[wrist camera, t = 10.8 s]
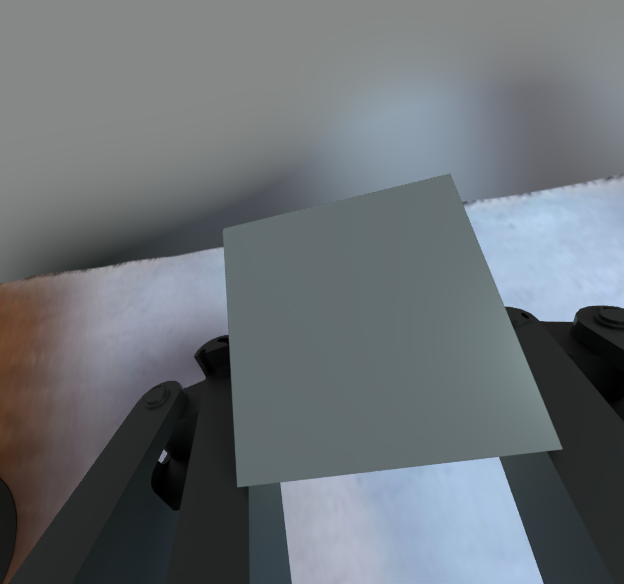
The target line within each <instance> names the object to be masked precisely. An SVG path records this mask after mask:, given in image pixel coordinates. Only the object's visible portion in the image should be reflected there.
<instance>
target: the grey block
mask: <svg viewBox="0 0 624 584" xmlns="http://www.w3.org/2000/svg"><path fill="white" fill-rule="evenodd" d="M223 238H224V257H225V275H226V293H227V311H228V329H229V347H230V365H231V383H232V401H233V419H234V437H235V455H236V473H237V487H244V486H253V485H261V484H270V483H278V482H287V481H296V480H304V479H313V478H321V477H330V476H338V475H347V474H355V473H364V472H373V471H381V470H390V469H398V468H407V467H415V466H424V465H432V464H441V463H450V462H458V461H467V460H475V459H484V458H492V457H501V456H509V455H518V454H526V453H535V452H544V451H552V450H561V449H562V446H561V444H560V441H559V439H558V436H557V434H556V431H555V429H554V427H553V424H552V422H551V419H550V417H549V414H548V412H547V409H546V407H545V404H544V402H543V400H542V397H541V395H540V392H539V390H538V387H537V385H536V382H535V380H534V378H533V375H532V373H531V370H530V368H529V365H528V363H527V360H526V358H525V355H524V353H523V351H522V348H521V346H520V343H519V341H518V338H517V336H516V333H515V331H514V329H513V326H512V324H511V321H510V319H509V316H508V314H507V311H506V309H505V306H504V304H503V302H502V299H501V297H500V294H499V292H498V289H497V287H496V284H495V282H494V280H493V277H492V275H491V272H490V270H489V267H488V265H487V262H486V260H485V257H484V255H483V253H482V250H481V248H480V245H479V243H478V240H477V238H476V235H475V233H474V231H473V228H472V226H471V223H470V221H469V218H468V216H467V213H466V211H465V208H464V206H463V204H462V201H461V199H460V196H459V194H458V191H457V189H456V186H455V184H454V182H453V179H452V177H451V174H447V175H442V176H438V177H435V178H430V179H426V180H422V181H418V182H414V183H410V184H406V185H402V186H398V187H393V188H389V189H385V190H381V191H377V192H373V193H368V194H364V195H361V196H357V197H352V198H348V199H344V200H340V201H336V202H332V203H327V204H323V205H319V206H315V207H311V208H307V209H303V210H299V211H295V212H291V213H287V214H282V215H278V216H274V217H270V218H266V219H262V220H258V221H253V222H249V223H246V224H241V225H237V226H233V227H229V228H225V229H223Z"/></svg>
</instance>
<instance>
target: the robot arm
mask: <svg viewBox="0 0 624 584" xmlns="http://www.w3.org/2000/svg"><path fill="white" fill-rule="evenodd" d="M505 309H506V311H507V314H508V316H509V319H510V321H511V324H512V326H513V329H514V331H515V333H516V336H517V338H518V341H519V343H520V346H521V348H522V351H523V353H524V355H525V358H526V360H527V363H528V365H529V368H530V370H531V373H532V375H533V378H534V380H535V382H536V385H537V387H538V390H539V392H540V395H541V397H542V400H543V402H544V404H545V407H546V409H547V412H548V414H549V417H550V419H551V422H552V424H553V427H554V429H555V431H556V434H557V436H558V439H559V441H560V444H561V446H562V449H561V450H552V451H544V452H535V453H526V454H518V455H509V456H501V457H499V458H500V461H501V463H502V466H503V469H504V472H505V475H506V478H507V480H508V483H509V486H510V489H511V492H512V495H513V497H514V500H515V503H516V506H517V509H518V512H519V515H520V517H521V520H522V523H523V526H524V529H525V532H526V534H527V537H528V540H529V543H530V546H531V549H532V551H533V554H534V557H535V560H536V563H537V566H538V569H539V571H540V574H541V577H542V580H543V583H544V584H624V309H623V308H620V307H615V306H588V307H585V308H582V309H580V310H579V311H578V312H577V313H576V315H575V318H574V321H573V322H544V321H539V320H538V319H537V318H536V317H535V316H533V315H532V314H531V313H529V312H526V311H524V310H521V309H517V308H513V307H505ZM194 357H195V359H196V361H197V362H198V364H199V366H200V367H201V369H202V371H203V372H204V374H205V376H206V379H205V380H204V381H202V382H199V383H197V384H194V385H192V386H190V387H187V388H185V389H183V388H182V386H181V385H180V383H178V382H177V381H167V382H164V383H161V384H159V385H157V386H155V387H153V388H152V389H151V390H149V391H148V392H147V393H146V394H144V395H143V397H142V398H141V399H140V400H139V401H138V402H137V404H136V405H135V407H134V408H133V409H132V411H131V412H130V414H129V415H128V416H127V418H126V419H125V421H124V422H123V423H122V425H121V426H120V428H119V429H118V430H117V432H116V433H115V435H114V436H113V437H112V439H111V440H110V442H109V443H108V444H107V446H106V447H105V449H104V450H103V451H102V453H101V454H100V456H99V457H98V458H97V460H96V461H95V463H94V464H93V465H92V467H91V468H90V470H89V471H88V472H87V474H86V475H85V477H84V478H83V479H82V481H81V482H80V484H79V485H78V486H77V488H76V489H75V491H74V492H73V493H72V495H71V496H70V498H69V499H68V500H67V502H66V503H65V505H64V506H63V507H62V509H61V510H60V512H59V513H58V514H57V516H56V517H55V519H54V520H53V521H52V523H51V524H50V526H49V527H48V528H47V530H46V531H45V533H44V534H43V535H42V537H41V538H40V540H39V541H38V542H37V544H36V545H35V547H34V548H33V549H32V551H31V552H30V554H29V555H28V556H27V558H26V559H25V561H24V562H23V563H22V565H21V566H20V568H19V569H18V570H17V572H16V573H15V575H14V576H13V577H12V579H11V580H10V582H9V583H8V584H292V582H291V573H290V565H289V556H288V547H287V539H286V530H285V521H284V513H283V504H282V495H281V487H280V482H278V483H270V484H261V485H253V486H244V487H237V473H236V455H235V437H234V419H233V401H232V383H231V365H230V347H229V335H224V336H220V337H217V338H215V339H212V340H210V341H209V342H207V343H206V344H204V345H203V346H202V347H201V348H200V349H199V350H198V351H197V353H196V354H195V356H194ZM163 450H165V451H166V452H167V455H166V457H165V459H164V460H163V462H162V463H160V462H159V461H158V459H159V458H160V456H161V454H162V452H163ZM15 535H16V514H15V507H14V503H13V499H12V496H11V494H10V492H9V490H8V488H7V487H6V485H5V484H4V483H3V482H2V481H1V480H0V584H2V582H3V579H4V577H5V575H6V572H7V570H8V567H9V564H10V561H11V557H12V553H13V549H14V543H15Z"/></svg>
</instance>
